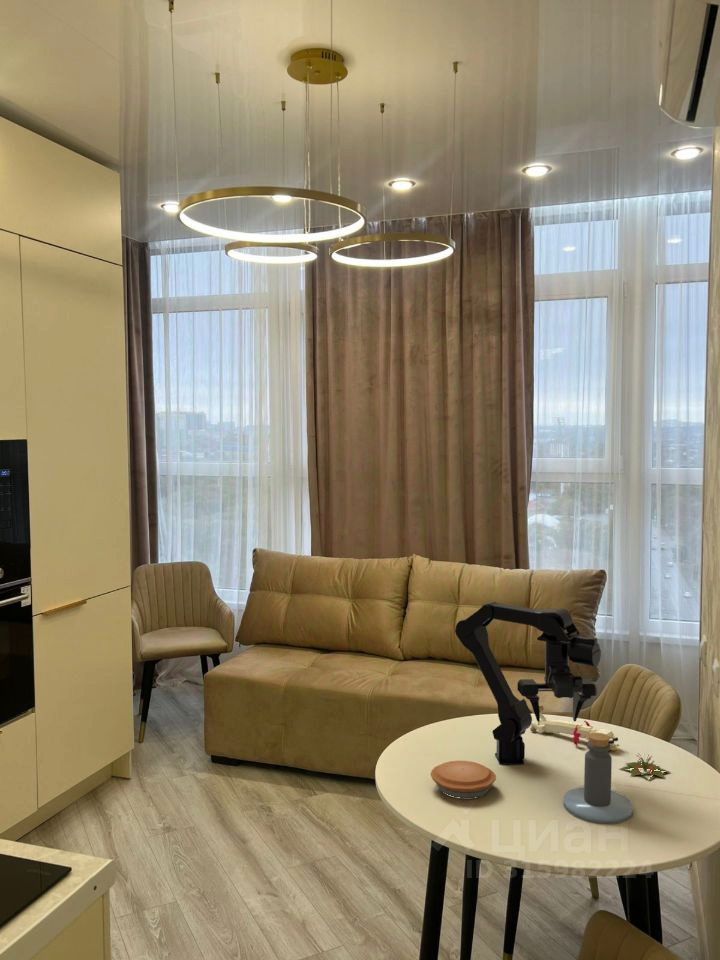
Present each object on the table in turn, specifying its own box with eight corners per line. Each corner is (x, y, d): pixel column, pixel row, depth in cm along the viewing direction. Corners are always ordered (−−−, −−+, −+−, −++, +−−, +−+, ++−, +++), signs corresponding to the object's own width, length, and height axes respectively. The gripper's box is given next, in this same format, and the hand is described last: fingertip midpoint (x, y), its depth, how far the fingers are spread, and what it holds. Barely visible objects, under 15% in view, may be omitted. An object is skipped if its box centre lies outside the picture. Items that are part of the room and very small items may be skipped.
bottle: (615, 801, 181) (616, 736, 180) (603, 809, 177) (604, 743, 176) (591, 793, 185) (593, 729, 184) (579, 801, 181) (580, 736, 180)
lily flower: (680, 775, 199) (680, 757, 199) (650, 787, 193) (651, 768, 192) (639, 760, 209) (639, 742, 209) (610, 770, 203) (610, 752, 202)
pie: (450, 770, 201) (450, 751, 201) (506, 786, 192) (506, 765, 192) (418, 792, 189) (418, 771, 189) (477, 810, 180) (477, 788, 180)
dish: (574, 824, 173) (575, 817, 173) (555, 793, 188) (555, 787, 188) (642, 822, 173) (643, 816, 173) (618, 792, 188) (618, 786, 188)
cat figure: (527, 739, 227) (609, 755, 210) (525, 708, 227) (607, 722, 210) (544, 730, 234) (626, 745, 217) (543, 700, 234) (624, 713, 217)
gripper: (527, 669, 191) (527, 733, 192) (604, 668, 191) (603, 732, 192) (517, 656, 202) (516, 717, 203) (589, 656, 203) (589, 716, 203)
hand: (556, 721), depth 200 cm, fingers open, 9 cm apart
